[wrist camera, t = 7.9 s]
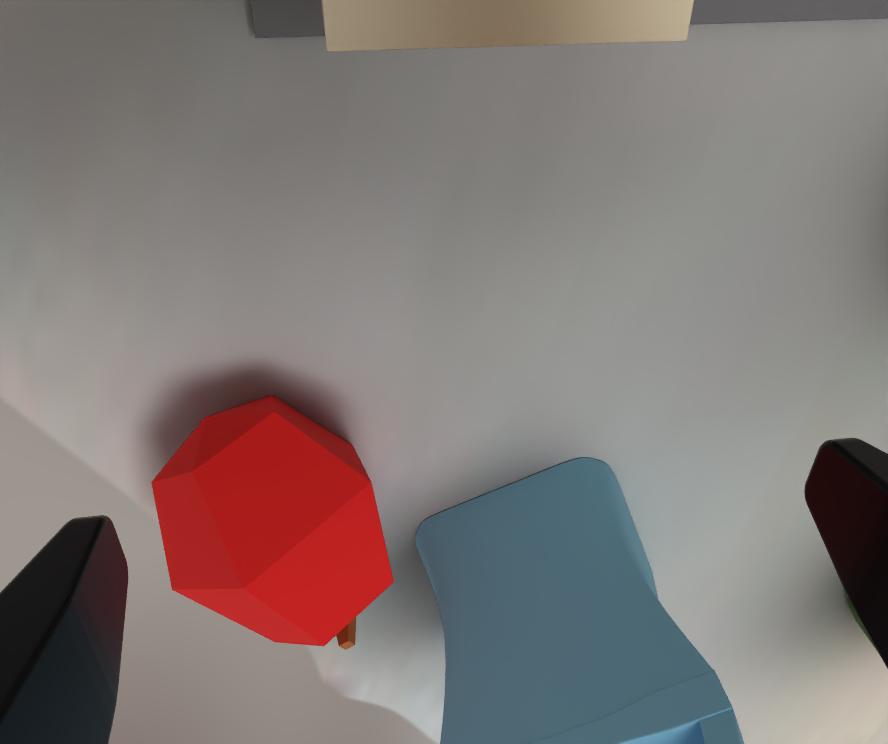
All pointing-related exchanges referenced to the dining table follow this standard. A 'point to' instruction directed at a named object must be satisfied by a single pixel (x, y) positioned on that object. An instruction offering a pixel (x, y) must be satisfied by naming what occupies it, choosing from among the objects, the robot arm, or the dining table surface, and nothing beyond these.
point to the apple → (273, 524)
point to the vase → (562, 622)
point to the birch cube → (499, 22)
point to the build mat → (300, 14)
